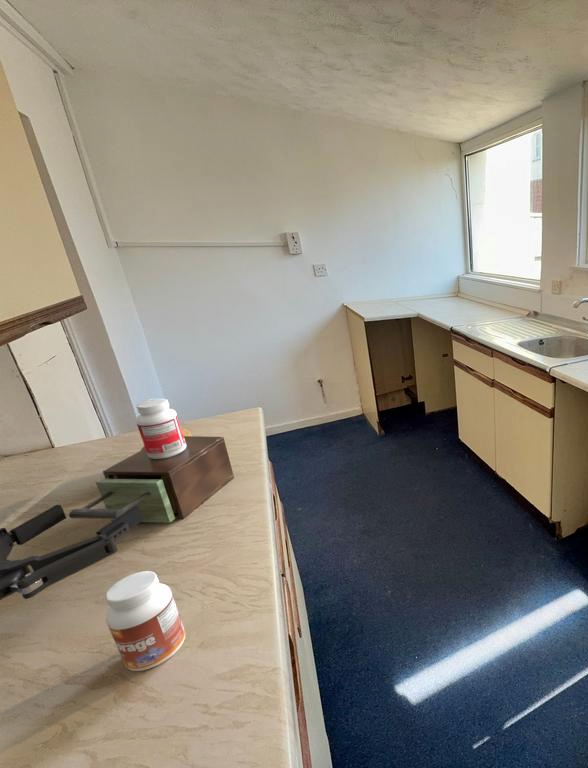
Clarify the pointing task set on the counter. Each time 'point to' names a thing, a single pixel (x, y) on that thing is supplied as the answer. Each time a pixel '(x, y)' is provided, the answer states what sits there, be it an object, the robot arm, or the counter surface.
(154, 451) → the pill bottle
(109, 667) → the counter surface
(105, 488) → the drawer
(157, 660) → the pill bottle
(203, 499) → the cabinet
